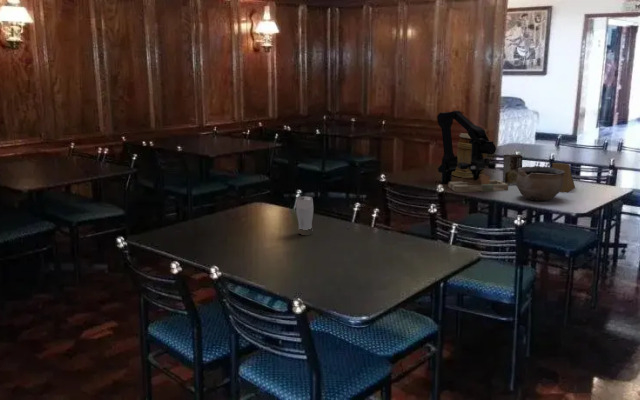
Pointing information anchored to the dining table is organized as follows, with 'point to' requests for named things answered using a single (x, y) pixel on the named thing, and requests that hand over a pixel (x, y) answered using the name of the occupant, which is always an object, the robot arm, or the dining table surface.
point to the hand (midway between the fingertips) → (475, 181)
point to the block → (484, 179)
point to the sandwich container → (565, 176)
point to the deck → (476, 185)
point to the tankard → (465, 156)
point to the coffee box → (511, 168)
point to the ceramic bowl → (539, 182)
